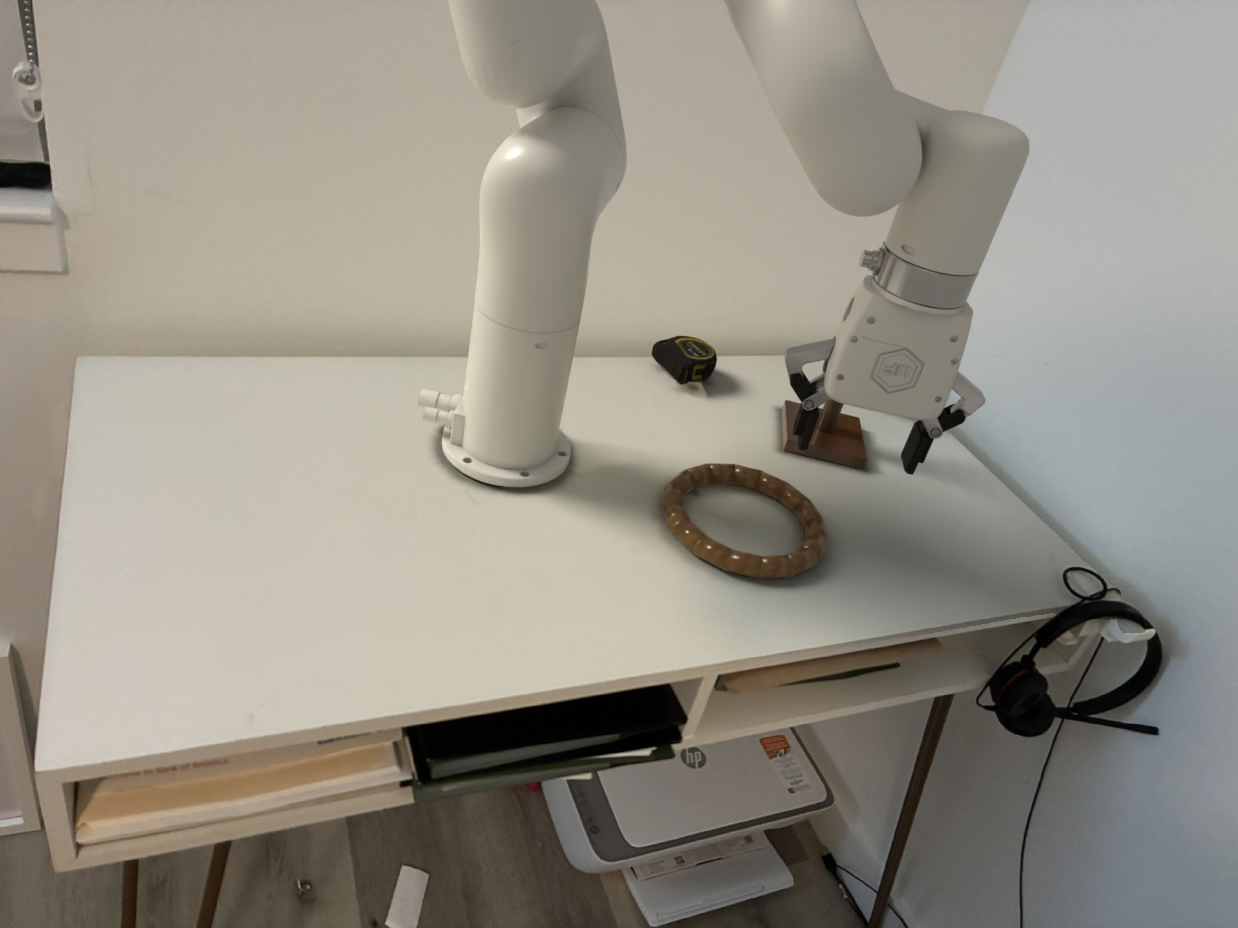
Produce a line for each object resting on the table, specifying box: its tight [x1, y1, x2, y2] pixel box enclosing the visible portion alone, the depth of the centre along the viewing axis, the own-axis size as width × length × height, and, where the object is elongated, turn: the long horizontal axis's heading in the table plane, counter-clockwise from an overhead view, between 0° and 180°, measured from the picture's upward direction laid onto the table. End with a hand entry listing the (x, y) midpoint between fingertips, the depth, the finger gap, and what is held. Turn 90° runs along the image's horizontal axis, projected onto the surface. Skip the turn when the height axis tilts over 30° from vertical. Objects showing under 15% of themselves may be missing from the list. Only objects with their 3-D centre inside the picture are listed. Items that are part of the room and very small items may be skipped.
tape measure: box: [651, 335, 718, 386], centre depth 110 cm, size 7×7×4 cm
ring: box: [661, 462, 828, 579], centre depth 88 cm, size 16×16×2 cm
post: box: [781, 399, 868, 470], centre depth 101 cm, size 9×9×14 cm
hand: (853, 454), depth 82 cm, fingers open, 9 cm apart
